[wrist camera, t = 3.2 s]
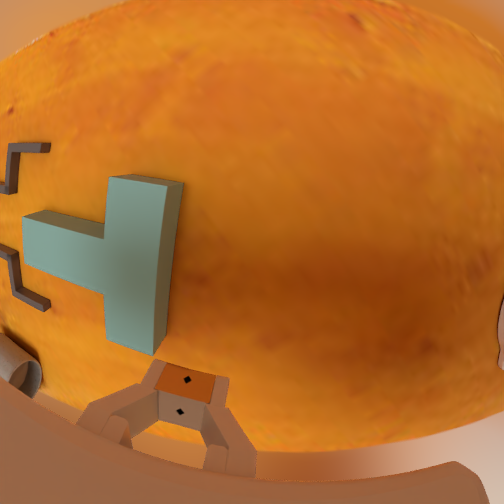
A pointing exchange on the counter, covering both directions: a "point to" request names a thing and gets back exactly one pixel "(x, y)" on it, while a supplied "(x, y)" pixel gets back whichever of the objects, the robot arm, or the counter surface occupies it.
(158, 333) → the teal T block
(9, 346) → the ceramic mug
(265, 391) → the counter surface
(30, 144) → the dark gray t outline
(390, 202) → the counter surface
